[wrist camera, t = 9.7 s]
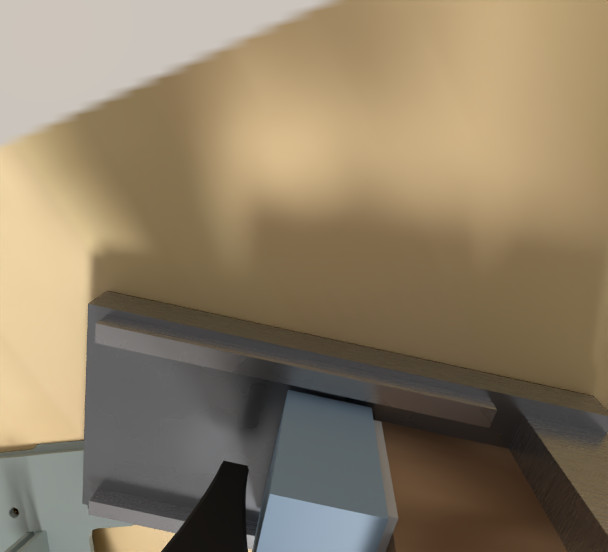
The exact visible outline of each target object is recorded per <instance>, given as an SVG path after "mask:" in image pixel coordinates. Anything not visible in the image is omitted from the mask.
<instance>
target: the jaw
mask: <svg viewBox="0 0 608 552" xmlns="http://www.w3.org/2000/svg"><path fill="white" fill-rule="evenodd" d="M397 521H398V513H397V508H396V502H395V496H394V491H393V485H392V479H391V474H390V468H389V462H388V457H387V451H386V445H385V440H384V434H383V429H382V423H381V421H376V420H373V413H372V408H371V407H366V406H361V405H357V404H352V403H347V402H343V401H338V400H333V399H329V398H324V397H320V396H315V395H310V394H306V393H301V392H296V391H292V390H288V392H287V396H286V400H285V405H284V409H283V413H282V418H281V422H280V427H279V431H278V435H277V440H276V444H275V449H274V453H273V457H272V462H271V466H270V470H269V475H268V479H267V484H266V488H265V492H264V497H263V501H262V506H261V510H260V514H259V519H258V523H257V528H256V533H255V539H254V544H253V549H252V552H386V549H387V547H388V544H389V541H390V539H391V536H392V534H393V531H394V529H395V526H396V523H397Z"/></svg>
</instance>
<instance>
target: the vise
mask: <svg viewBox="0 0 608 552" xmlns="http://www.w3.org/2000/svg"><path fill="white" fill-rule="evenodd" d="M288 390H292V391H296V392H301V393H306V394H310V395H315V396H320V397H324V398H329V399H333V400H338V401H343V402H347V403H352V404H357V405H361V406H366V407H371V408H372V413H373V420H378V421H382V422H387V423H392V424H396V425H401V426H406V427H410V428H415V429H419V430H424V431H429V432H433V433H438V434H443V435H447V436H452V437H457V438H461V439H466V440H471V441H475V442H480V443H484V444H489V445H494V446H498V447H503V448H508V449H509V450H510V452H511V453H512V455H513V457H514V459H515V460H516V462H517V464H518V466H519V467H520V469H521V471H522V473H523V474H524V476H525V478H526V480H527V481H528V483H529V485H530V487H531V488H532V490H533V492H534V494H535V495H536V497H537V499H538V501H539V502H540V504H541V506H542V508H543V509H544V511H545V513H546V514H547V516H548V518H549V520H550V521H551V523H552V525H553V527H554V528H555V530H556V532H557V534H558V535H559V537H560V539H561V541H562V542H563V544H564V546H565V548H566V549H567V551H568V552H608V434H607V432H608V410H607V409H606V408H605V407H604V406H603V405H602V404H601V403H600V402H599V401H598V400H597V399H596V398H595V397H594V396H590V395H586V394H581V393H577V392H572V391H567V390H563V389H558V388H553V387H549V386H544V385H540V384H535V383H530V382H526V381H521V380H516V379H512V378H507V377H503V376H498V375H493V374H489V373H484V372H480V371H475V370H470V369H466V368H461V367H456V366H452V365H447V364H443V363H438V362H433V361H429V360H424V359H419V358H415V357H410V356H406V355H401V354H396V353H392V352H387V351H382V350H378V349H373V348H369V347H364V346H359V345H355V344H350V343H346V342H341V341H336V340H332V339H327V338H322V337H318V336H313V335H309V334H304V333H299V332H295V331H290V330H285V329H281V328H276V327H272V326H267V325H262V324H258V323H253V322H249V321H244V320H239V319H235V318H230V317H225V316H221V315H216V314H212V313H207V312H202V311H198V310H193V309H188V308H184V307H179V306H175V305H170V304H165V303H161V302H156V301H151V300H147V299H142V298H138V297H133V296H128V295H124V294H119V293H115V292H110V291H106V292H105V293H103V294H102V295H101V296H99V297H98V298H96V299H95V300H93V301H92V302H90V303H89V304H88V329H87V362H86V395H85V429H84V462H83V495H82V504H85V505H89V515H93V516H98V517H102V518H107V519H112V520H116V521H121V522H126V523H130V524H135V525H140V526H144V527H149V528H154V529H159V530H163V531H168V532H173V533H177V531H178V530H179V529H180V527H181V526H182V525H183V523H184V522H185V521H186V519H187V518H188V516H189V515H190V514H191V512H192V511H193V510H194V508H195V507H196V505H197V504H198V503H199V501H200V499H201V498H202V496H203V495H204V493H205V492H206V490H207V489H208V487H209V486H210V484H211V482H212V481H213V479H214V477H215V475H216V474H217V472H218V470H219V468H220V466H221V464H222V463H223V461H228V462H233V463H238V464H242V465H247V466H248V469H249V472H248V477H247V486H246V532H247V547H248V549H253V544H254V539H255V533H256V528H257V523H258V519H259V514H260V510H261V506H262V501H263V497H264V492H265V488H266V484H267V479H268V475H269V470H270V466H271V462H272V457H273V453H274V449H275V444H276V440H277V435H278V431H279V427H280V422H281V418H282V413H283V409H284V405H285V400H286V396H287V392H288Z"/></svg>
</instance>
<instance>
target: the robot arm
mask: <svg viewBox="0 0 608 552" xmlns="http://www.w3.org/2000/svg"><path fill="white" fill-rule="evenodd" d="M248 472H249V469H248V466H247V465H242V464H238V463H233V462H228V461H223V463H222V464H221V466H220V468H219V470H218V472H217V474H216V475H215V477H214V479H213V481H212V482H211V484H210V486H209V487H208V489H207V490H206V492H205V493H204V495H203V496H202V498H201V499H200V501H199V503H198V504H197V505H196V507H195V508H194V510H193V511H192V512H191V514H190V515H189V516H188V518H187V519H186V521H185V522H184V523H183V525H182V526H181V527H180V529H179V530H178V531H177V533H176V534H175V535H174V536H173V538H172V539H171V540H170V541H169V543H168V544H167V545H166V546H165V547H164V549H163V550H162V551H161V552H248V547H247V532H246V486H247V477H248Z"/></svg>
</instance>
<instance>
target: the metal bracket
mask: <svg viewBox="0 0 608 552" xmlns="http://www.w3.org/2000/svg"><path fill="white" fill-rule="evenodd" d="M83 462H84V440H83V441H71V442H59V443H48V444H37V446H36V447H35V448H34V449H31V450H21V451H11V452H1V453H0V552H94V546H93V539H92V530H94V529H97V528H110V527H123V526H132V525H134V524H130V523H126V522H121V521H116V520H112V519H107V518H102V517H98V516H93V515H89V505H85V504H82V495H83ZM13 508H16V509H18V511H19V515H17V514H15V513H14V510H13Z"/></svg>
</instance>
